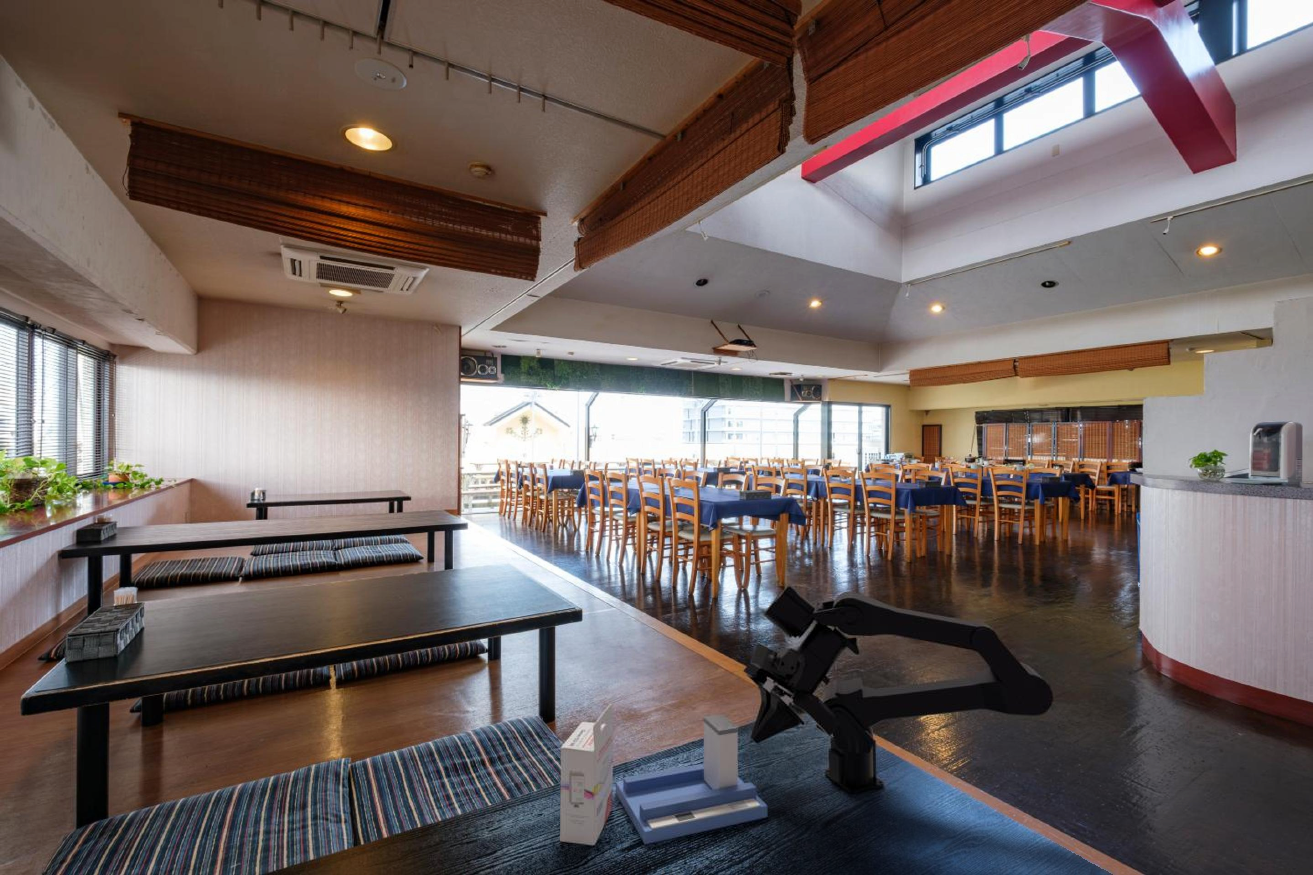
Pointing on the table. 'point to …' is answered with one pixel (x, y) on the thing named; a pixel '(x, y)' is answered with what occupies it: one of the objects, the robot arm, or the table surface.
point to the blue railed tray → (685, 803)
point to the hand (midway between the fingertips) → (753, 740)
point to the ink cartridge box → (587, 780)
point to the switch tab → (720, 752)
